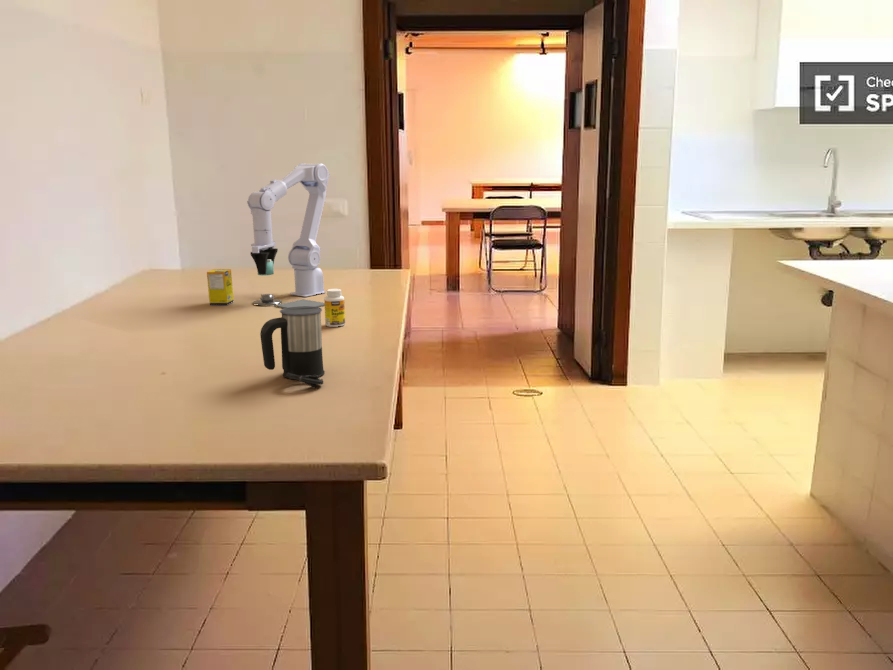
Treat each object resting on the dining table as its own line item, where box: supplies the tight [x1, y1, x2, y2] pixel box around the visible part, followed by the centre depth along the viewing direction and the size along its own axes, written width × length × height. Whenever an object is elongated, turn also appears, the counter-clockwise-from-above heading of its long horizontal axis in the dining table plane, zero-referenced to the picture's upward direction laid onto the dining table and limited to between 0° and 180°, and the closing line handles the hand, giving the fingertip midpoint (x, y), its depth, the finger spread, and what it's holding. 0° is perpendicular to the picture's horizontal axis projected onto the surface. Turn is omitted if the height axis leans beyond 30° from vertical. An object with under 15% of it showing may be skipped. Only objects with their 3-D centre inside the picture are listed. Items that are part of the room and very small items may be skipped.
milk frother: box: [259, 306, 326, 388], centre depth 172 cm, size 14×16×15 cm
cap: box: [256, 259, 275, 276], centre depth 254 cm, size 5×5×5 cm
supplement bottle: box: [323, 288, 346, 328], centre depth 224 cm, size 6×6×10 cm
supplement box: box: [206, 268, 235, 306], centre depth 257 cm, size 6×6×11 cm
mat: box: [273, 298, 325, 309], centre depth 253 cm, size 12×12×1 cm
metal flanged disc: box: [252, 293, 283, 305], centre depth 257 cm, size 9×9×3 cm
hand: (265, 272), depth 255 cm, fingers closed on cap, 5 cm apart
